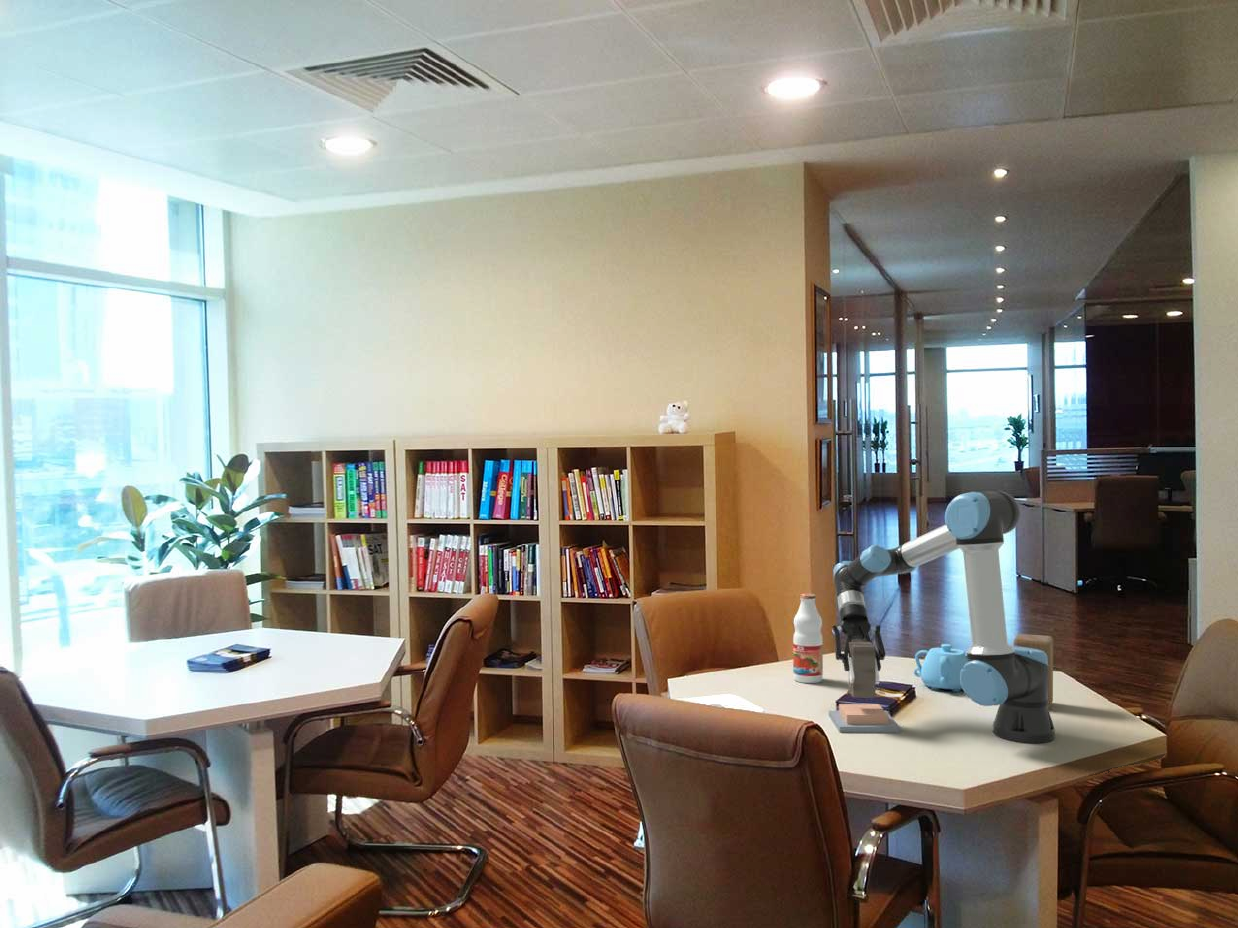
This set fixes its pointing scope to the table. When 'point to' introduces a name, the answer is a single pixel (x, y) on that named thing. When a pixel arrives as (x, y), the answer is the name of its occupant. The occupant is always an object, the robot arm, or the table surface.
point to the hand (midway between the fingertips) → (864, 680)
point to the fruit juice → (807, 642)
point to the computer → (726, 702)
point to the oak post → (862, 669)
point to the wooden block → (1044, 645)
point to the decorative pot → (941, 667)
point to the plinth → (863, 726)
